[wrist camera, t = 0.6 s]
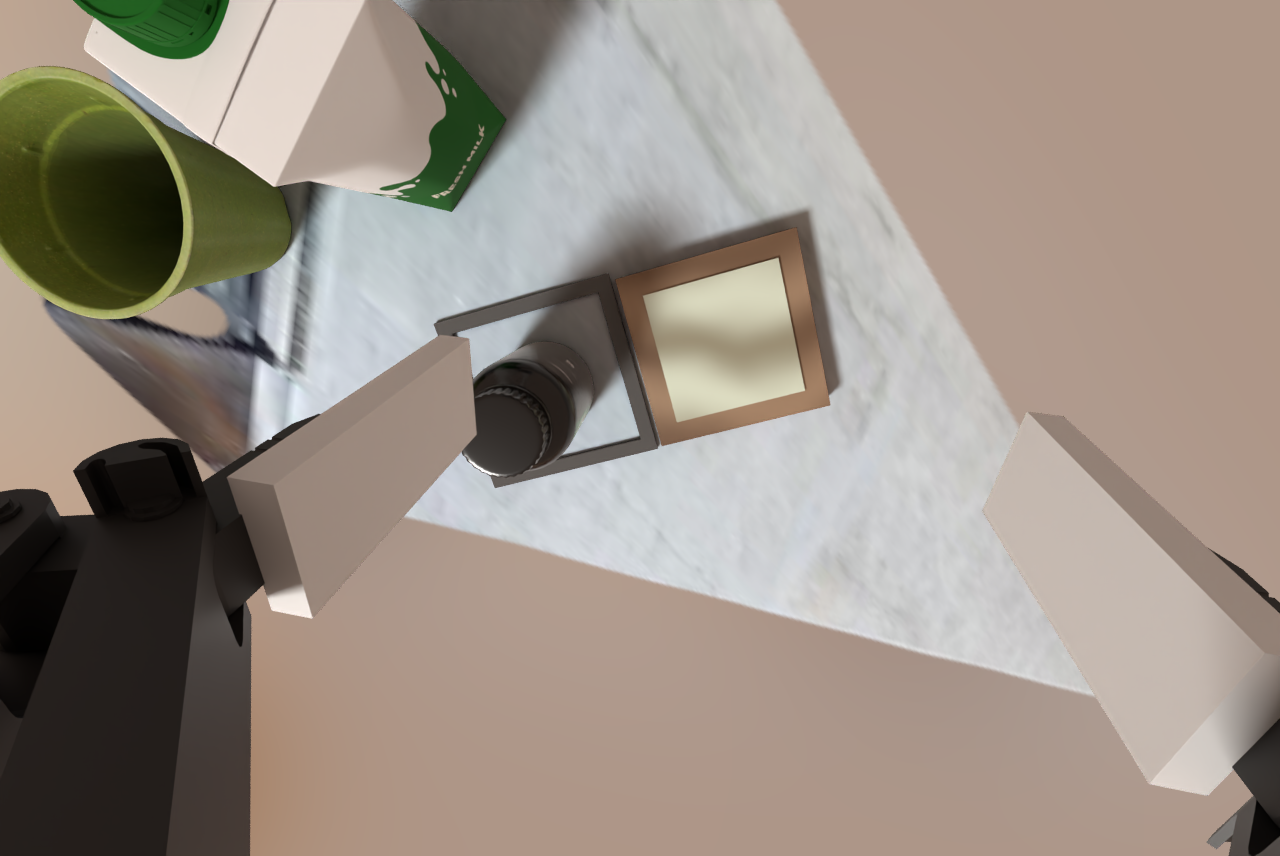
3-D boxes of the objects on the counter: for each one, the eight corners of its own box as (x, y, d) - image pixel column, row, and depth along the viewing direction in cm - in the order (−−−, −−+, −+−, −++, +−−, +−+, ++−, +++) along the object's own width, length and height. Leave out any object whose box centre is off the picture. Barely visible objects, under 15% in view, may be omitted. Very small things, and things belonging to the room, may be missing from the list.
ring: (435, 323, 40) (433, 323, 40) (608, 273, 38) (607, 273, 38) (496, 486, 44) (495, 488, 43) (657, 447, 42) (657, 448, 42)
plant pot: (331, 144, 37) (191, 98, 26) (319, 320, 41) (191, 343, 30) (156, 100, 37) (-55, 36, 26) (160, 280, 41) (-26, 288, 30)
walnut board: (617, 278, 39) (614, 279, 37) (791, 228, 37) (797, 227, 35) (662, 439, 42) (661, 447, 40) (825, 399, 40) (831, 405, 38)
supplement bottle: (613, 401, 41) (588, 457, 30) (538, 447, 43) (487, 517, 31) (560, 321, 40) (512, 347, 28) (484, 371, 41) (410, 416, 30)
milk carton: (407, 22, 35) (82, -263, 16) (528, 117, 36) (360, -40, 17) (343, 147, 37) (-8, 32, 18) (458, 233, 38) (242, 210, 19)
